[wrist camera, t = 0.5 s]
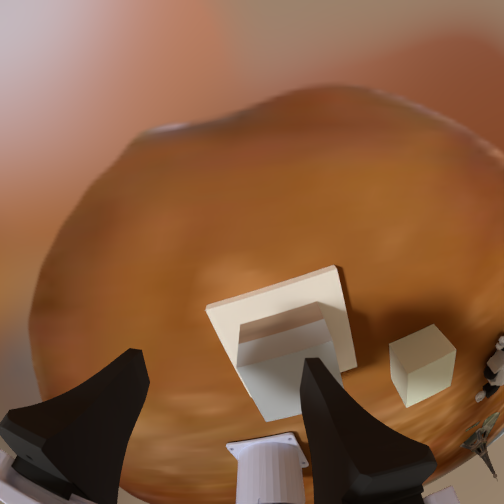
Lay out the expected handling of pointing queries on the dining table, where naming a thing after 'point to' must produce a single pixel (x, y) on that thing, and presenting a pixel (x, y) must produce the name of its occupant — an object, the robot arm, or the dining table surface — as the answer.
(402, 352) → the sage block
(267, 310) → the cream board
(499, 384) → the robot toy
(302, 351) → the light grey flat block
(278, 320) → the walnut slab
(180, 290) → the dining table surface
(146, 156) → the dining table surface
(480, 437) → the eiffel tower figurine
